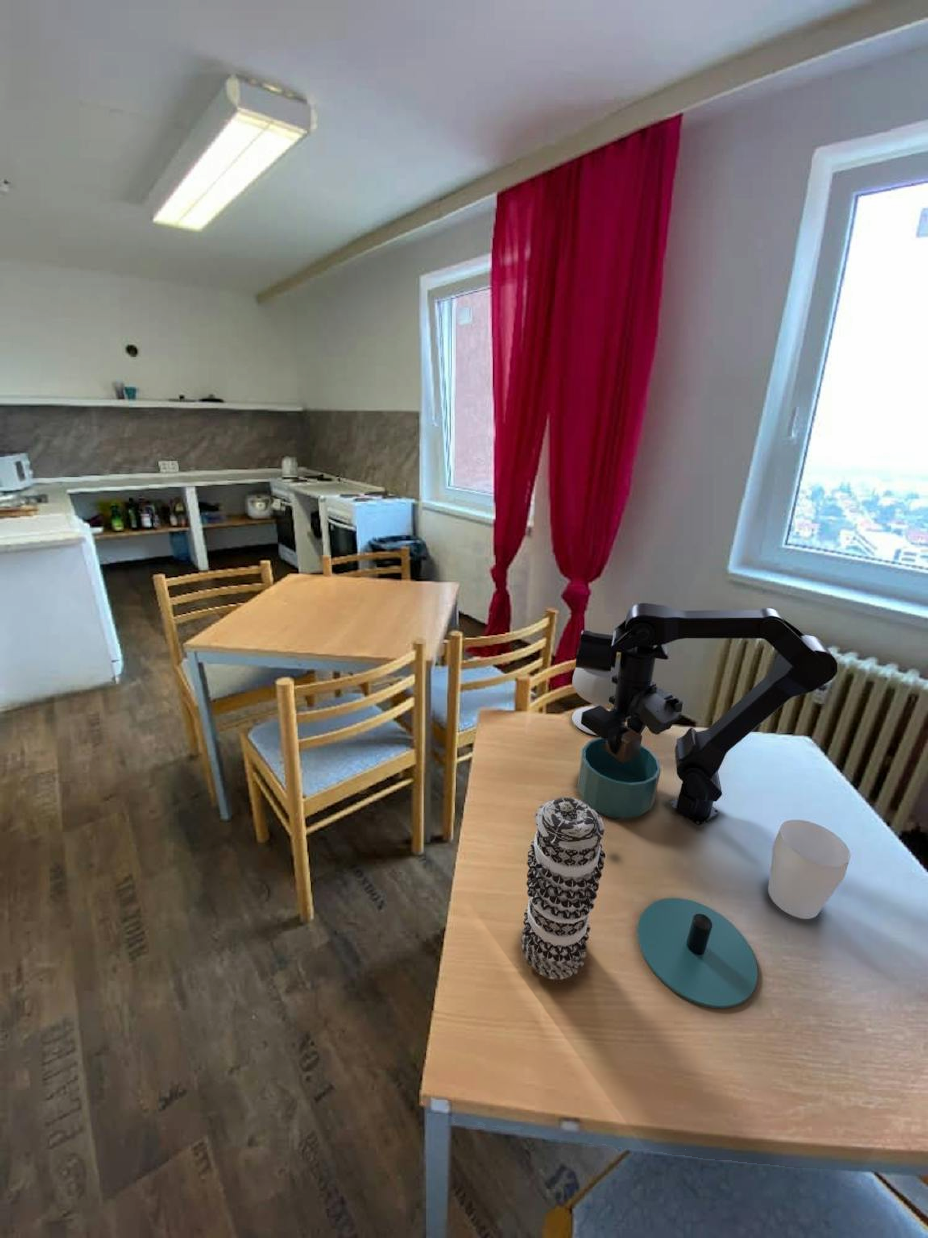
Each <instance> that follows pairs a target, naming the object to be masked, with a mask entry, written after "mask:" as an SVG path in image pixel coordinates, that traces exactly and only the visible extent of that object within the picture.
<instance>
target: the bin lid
mask: <svg viewBox="0 0 928 1238" xmlns="http://www.w3.org/2000/svg"><path fill="white" fill-rule="evenodd" d="M637 942H638V946H639V949H640V952H641V954H642V956H643V959H644V960H645V963H646V964H647V966H648V967H649V969H650V970H651V971H652V972H653V974H654V975H655V976H656V977H657V979H658V980H659V981H660V982H661V983H662V984H664V985H665V987H667V988H668V989H669V990H670V991H672V992H673V993H675V994H677V995H678V996H679V997H681V998H683V999H685V1000H687V1001H689V1002H691V1003H694V1004H696V1005H699V1006H702V1007H705V1008H711V1009H729V1008H730V1009H731V1008H733V1007H737V1006H740V1005H742V1004H743V1003H745V1002H746V1001H747V1000H748V999H749V998H750V997H751V996H752V994H753V993H754V991H755V989H756V987H757V983H758V976H759V975H758V974H759V973H758V965H757V961H756V957H755V954H754V952H753V949H752V948H751V945H750V944H749V942H748V941H747V939H746V937H744V936H743V934H742V933H741V931H740V930H739V929H738V928H737V927H736V926H735V925H734V924H733V923H731V921H729V919H727V918H726V917H724V915H722V914H721V913H719V912H718V911H716V910H715V909H713V908H711V907H709V906H707V905H705V904H704V903H703V904H702V903H700V902H697V901H695V900H691V899H688V898H680V897H670V898H668V897H667V898H662V899H659V900H655V901H654V902H652V903H651V904H649V905H648V906H647V907H646V908H645V909H644V910H643V912H642V913H641V915H640V917H639V921H638V924H637Z"/></svg>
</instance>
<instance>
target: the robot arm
mask: <svg viewBox="0 0 928 1238" xmlns="http://www.w3.org/2000/svg"><path fill="white" fill-rule="evenodd" d="M683 639H684V640H685V639H714V640H715V639H717V640H718V639H719V640H720V639H724V640H725V639H730V640H731V639H734V640H735V639H736V640H738V639H743V640H744V639H745V640H746V639H747V640H748V639H751V640H753V639H754V640H755V639H756V640H757V639H759V640H760V639H762V640H765V642H767V643H768V644H769V645H770V646H772V648H774V650H775V651H776V652H777V653H778V654H777V655H776V657H775V659H774V661H773V663H772V665H771V667H770V670H769V671H768V673H767V674H766V676H765V677H764V678H763V679H761V680H760V681H759V682H758V683H757V684H756V685H755V686H754V687H752V689H751V690H749V691H748V692H747V693H746V694H745V695H744V696H743V697H742V698H741V699H740V700H738V702H736V703H735V704H734V705H733V706H732V707H730V708H729V709H728V710H727V711H726V712H725V713H724V714H723V715H722V716H721V717H719V718H718V719H717V720H716V721H715V722H714V723H713V724H712V725H711V726H710V727H708V728H707V729H703V730H700V731H697V730H696V729H695V728H694V727H690V728H688V730H687V731H686V733H684V735H682V736H680V737H678V738H676V744H675V747H674V756H675V769H676V775H677V777H678V778H679V780H680V781H681V784H680V785H681V786H680V790H679V793H678V797H677V798H675V799H673V800H671V801H669V802H668V803H669V806H670V807H672V808H673V809H674V810H675V811H676V813H679V814H680V815H681V816H682V817H684V818H685V819H687V820H689V821H691V822H692V823H693V824H695V825H697V826H701V825H703V824H705V823H708V822H709V821H711V820H713V819H714V818H715V817H717V816H719V814H720V811H719V810H718V809H716V808H715V807H714V806H713V805H714V803H715V802H717V801H719V799H720V798H721V797H722V796H723V790H722V786H721V781H720V775H719V770H720V768H721V767H722V764H723V762H724V760H725V757H726V756H727V753H728V752H730V751H731V749H733V748H734V747H735V746H736V745H737V744H738V743H740V742H741V741H742V740H743V739H744V738H746V737H747V736H748V735H750V734H751V733H752V732H753V731H754V730H755V729H757V728H758V727H759V726H760V725H761V724H762V723H763V722H764V721H766V720H767V719H768V718H769V717H771V716H772V715H773V714H774V713H775V712H777V710H779V709H780V708H781V707H782V706H784V704H786V703H788V701H789V700H791V699H792V698H794V697H799V696H802V695H806V694H809V693H812V692H814V691H816V690H818V689H819V688H821V687H823V686H824V685H826V684H828V683H829V682H831V681H833V679H835V677H836V676H837V674H838V672H839V671H838V662H837V660H836V658H835V657H834V655H833V654H832V653H831V651H830V650H829V649H828V647H827V646H826V644H825V643H824V642H823V641H822V640H821V639H820V638H818V637H816V636H815V635H814V636H813V635H807V634H806V635H805V633H803V632H802V631H801V630H800V629H799V628H797V627H796V626H795V625H794V624H793V623H791V622H789V621H788V620H787V619H785V618H784V617H783V616H782V615H781V614H780V613H779V612H778V611H777V610H776V609H774V608H768V607H764V608H761V609H718V610H717V609H716V610H715V609H713V610H712V609H711V610H710V609H709V610H705V609H704V610H682V609H676V608H673V607H669V606H666V605H663V604H656V603H655V604H654V603H649V602H648V603H647V602H641V603H637V604H634V605H633V606H631V608H630V609H629V610H628V611H627V613H626V617H625V619H624V620H623V621H622V622H621V623H619V624H618V625H617V626H616V627H615V628H614V629H613V631H612V634H608V633H607V634H606V633H599V632H594V631H591V630H585V629H583V630H581V632H580V637H579V645H578V648H577V651H576V657H575V668H576V667H577V668H583V669H589V670H595V671H602V672H608V671H610V672H611V667H612V668H615V663H616V658H617V656H618V653H620V657H619V659H620V664H619V670H618V675H616V676H614V677H612V682H613V683H614V684H616V690H615V695H613V696H610V697H609V702H610V703H612V704H613V705H614V706H612V707H611V708H610V709H608V708H606V707H605V708H603V707H602V706H600V705H599V706H597V707H595V706H593V707H594V708H592V709H589V710H586V711H584V712H582V717H581V724H582V725H583V726H585V727H586V728H588V729H589V730H591V731H592V732H594V733H595V734H597V735H596V736H598V737H601V738H603V739H607V742H608V744H609V747H610V750H611V752H612V753H614V754H617V752H618V750H619V746H620V743H621V739H622V735H623V734H624V733H627V732H629V731H630V730H629V729H627V728H626V727H625V725H626V726H627V727H629V728H631V729H632V730H634V731H635V732H637V733H639V734H640V735H642V734H643V732H644V730H645V729H646V728H647V729H648V731H649V732H650V733H651V734H653V735H660V734H661V733H664V732H665V731H668V730H670V729H671V728H672V726H673V725H674V723H676V722H677V721H679V720H680V719H682V711H683V701H682V700H681V699H680V698H679V697H678V696H673V694H671V693H669V692H667V691H666V690H664V689H661V688H660V687H659V686H657V683H656V682H655V681H653V675H654V670H655V663H656V659H659V660H665V661H666V660H669V649H668V647H666V646H665V645H667V644H669V643H673V642H676V641H679V640H683ZM607 709H608V710H610V711H608V710H607Z"/></svg>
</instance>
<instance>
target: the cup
mask: <svg viewBox="0 0 928 1238" xmlns="http://www.w3.org/2000/svg"><path fill="white" fill-rule="evenodd" d="M850 860H851V852H850V850H849V848H848V846H847V844H846V843H845V842H844V841H843V840H842V838H840V837H839V836H838V835H837V834H835V833H834V832H832V831H831V830H830V829H828V828H826V827H824V826H823V825H820V824H818V823H814V822H811V821H808V820H803V819H790V820H786V821H784V822H783V823H782V824H781V825H780V828H779V829H778V832H777V834H776V836H775V838H774V841H773V845H772V853H771V861H770V868H769V878H768V886H767V892H768V895H769V897H770V899H771V901H772V902H773V903H774V904H775V905H776V906H777V907H778V908H779V909H780V910H782V911H783V912H785V913H787V914H788V915H790V916H791V917H795V918H798V919H802V920H810V919H814V918H815V917H817V916H818V915H819V913H820V912H821V911H822V909H823V908H824V907H825V905H826V904H827V903H828V901H829V900H830V898H831V897H832V895H833V894H834V893H835V891H836V890H837V889H838V887H839V886H840V884H841V883H842V882H843V880H844V879H845V877H846V874H847V869H848V866H849V863H850Z"/></svg>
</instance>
